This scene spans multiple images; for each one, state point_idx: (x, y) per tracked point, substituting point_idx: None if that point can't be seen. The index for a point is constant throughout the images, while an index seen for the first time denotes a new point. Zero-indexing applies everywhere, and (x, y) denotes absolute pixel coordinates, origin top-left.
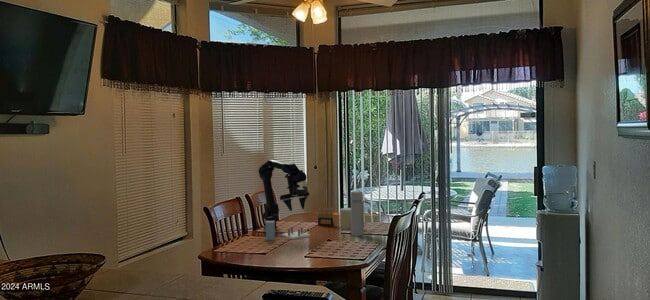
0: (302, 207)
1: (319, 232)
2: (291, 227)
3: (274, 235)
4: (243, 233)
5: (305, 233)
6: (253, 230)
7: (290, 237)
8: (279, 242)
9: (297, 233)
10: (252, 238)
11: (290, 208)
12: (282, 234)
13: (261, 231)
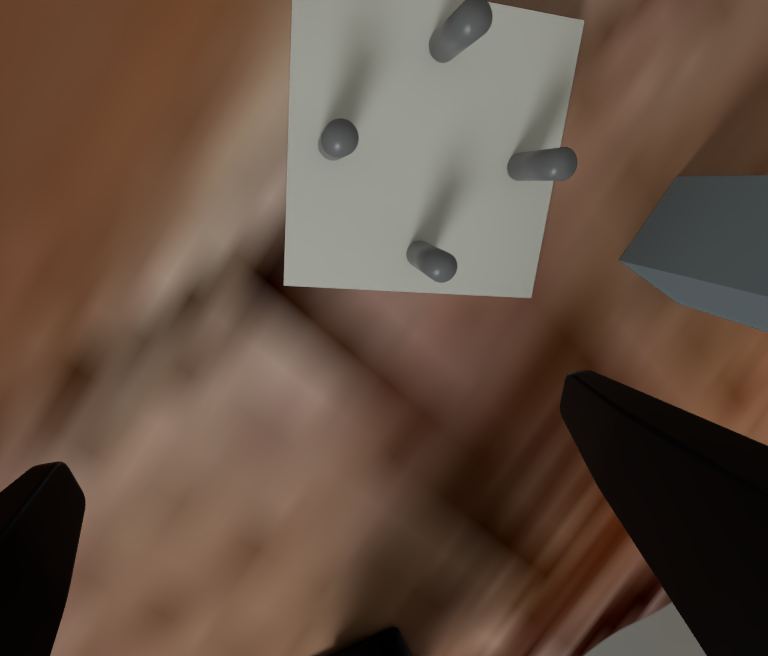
0: (53, 533)
1: (3, 125)
2: (454, 258)
3: (721, 179)
4: (650, 592)
5: (299, 92)
6: (529, 652)
7: (574, 55)
8: (742, 9)
9: (383, 180)
10: (741, 382)
11: (664, 416)
12: (534, 273)
13: (511, 588)
